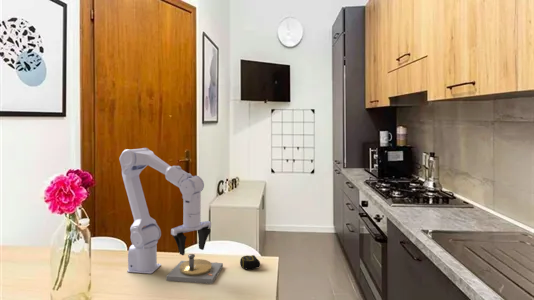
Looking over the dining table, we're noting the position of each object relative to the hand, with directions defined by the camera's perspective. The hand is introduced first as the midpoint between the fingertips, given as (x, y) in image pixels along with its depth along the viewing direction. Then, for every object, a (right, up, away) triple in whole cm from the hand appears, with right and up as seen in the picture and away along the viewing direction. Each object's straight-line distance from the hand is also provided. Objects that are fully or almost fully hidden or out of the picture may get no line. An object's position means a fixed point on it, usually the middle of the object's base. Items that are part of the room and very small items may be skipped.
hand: (191, 251), depth 123 cm
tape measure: (+20, -9, +12) cm, 25 cm away
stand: (0, -9, +5) cm, 10 cm away
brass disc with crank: (0, -8, +5) cm, 9 cm away
